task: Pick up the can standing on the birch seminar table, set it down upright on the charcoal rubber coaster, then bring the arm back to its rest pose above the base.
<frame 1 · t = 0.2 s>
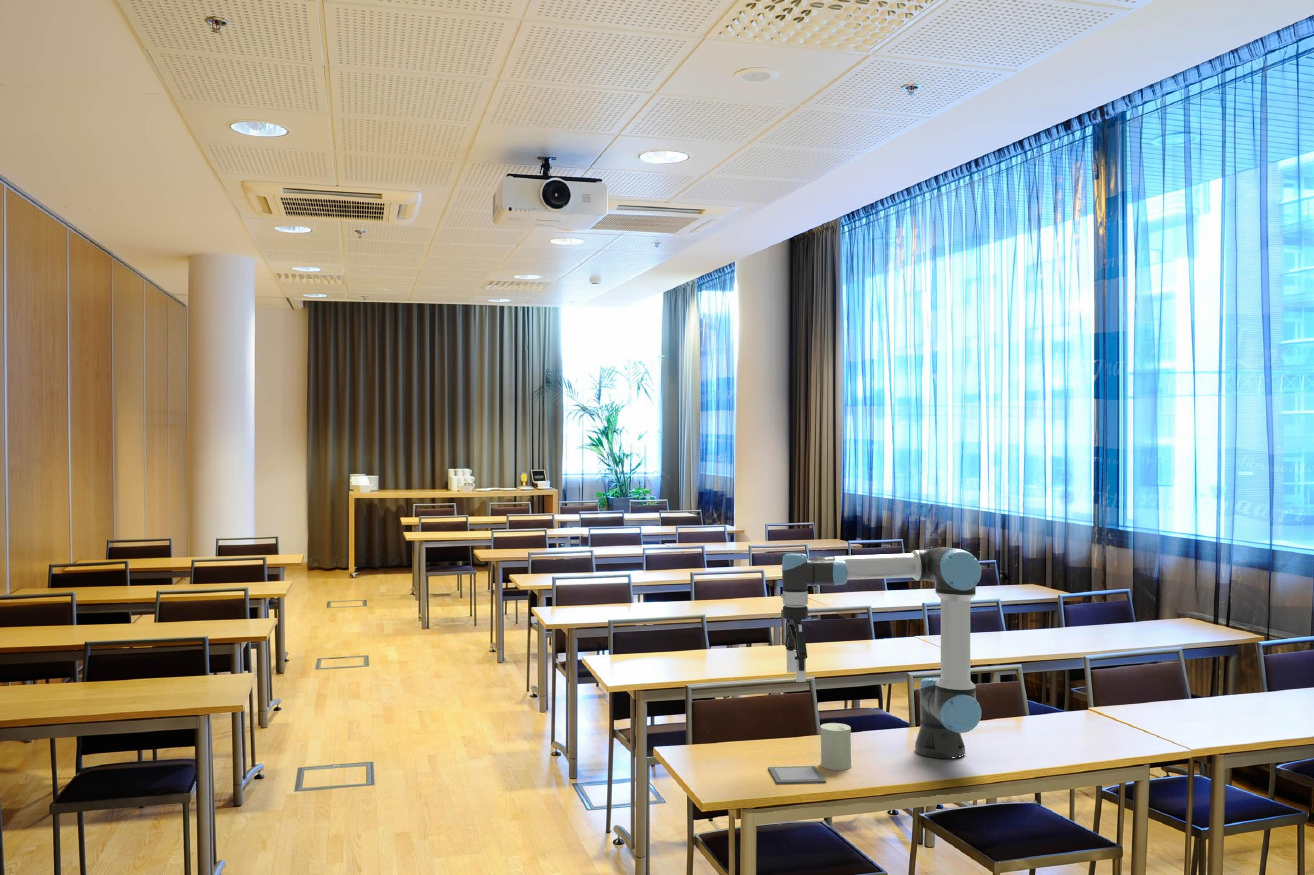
hand: (796, 676, 281), 27 cm above the table, fingers open, 13 cm apart
coaster: (796, 775, 273), on the table
can: (836, 766, 283), on the table
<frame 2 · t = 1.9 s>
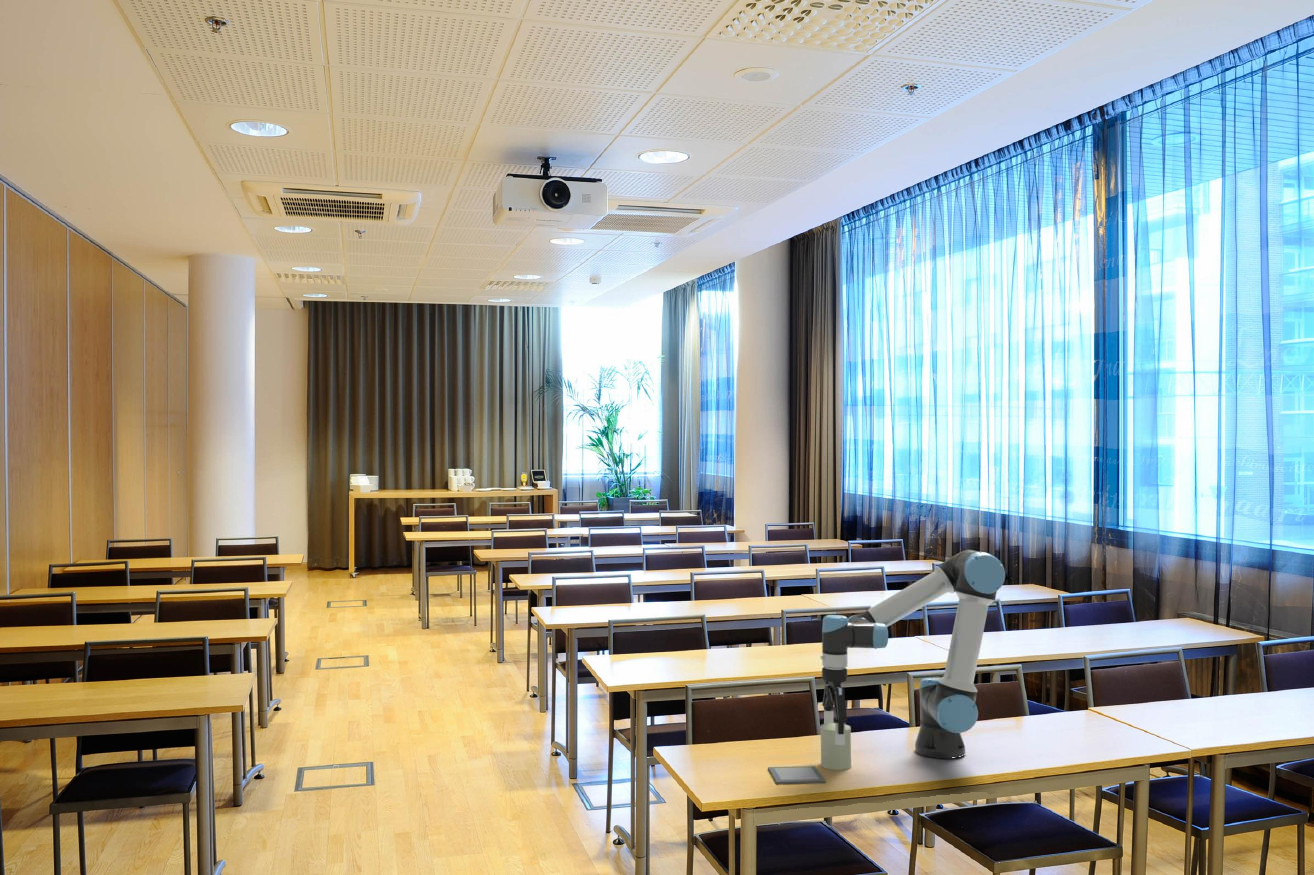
hand: (834, 738, 283), 8 cm above the table, fingers open, 13 cm apart
nothing on the table moved.
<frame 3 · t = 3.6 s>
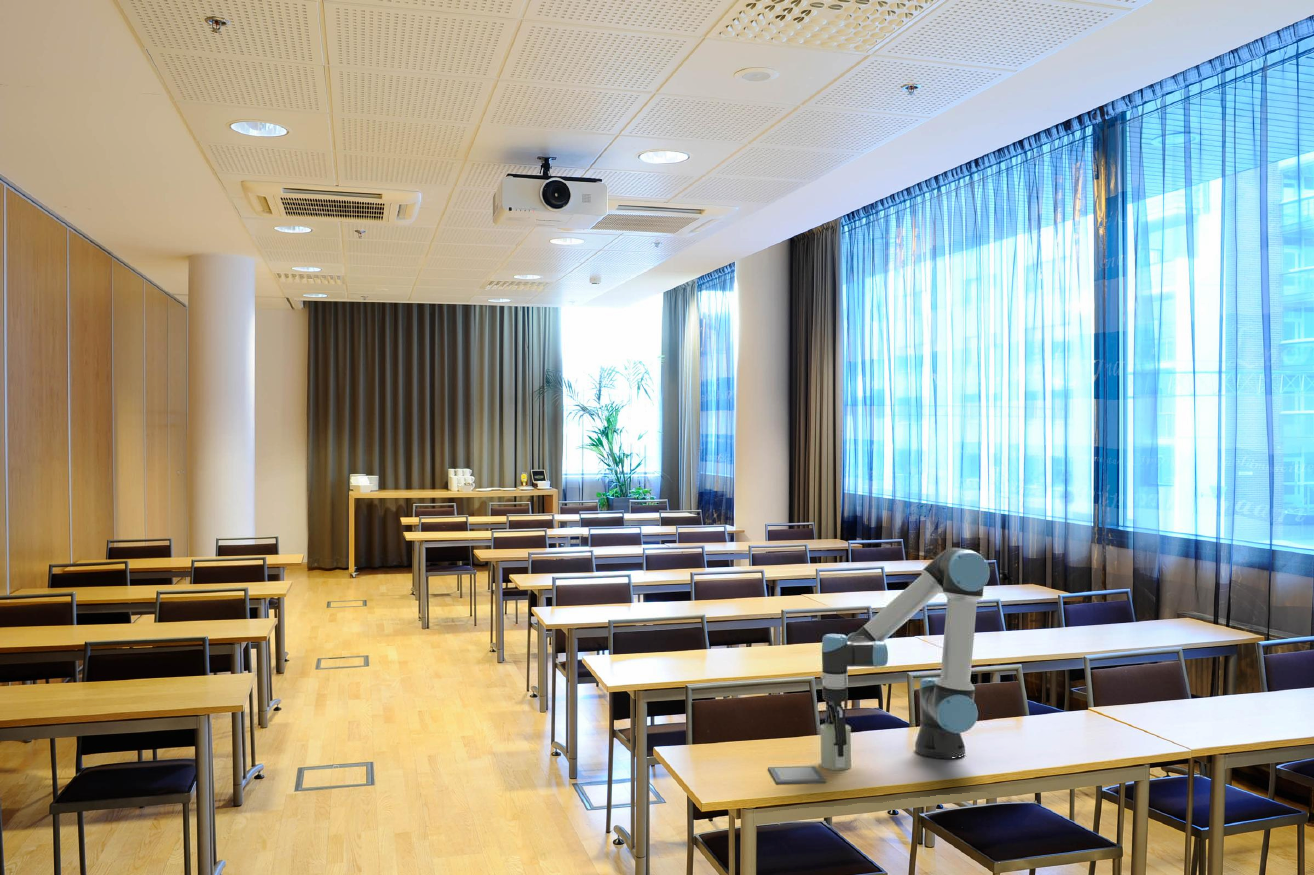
hand: (836, 762, 283), 1 cm above the table, fingers closed on can, 9 cm apart
can: (836, 766, 283), on the table, touching gripper
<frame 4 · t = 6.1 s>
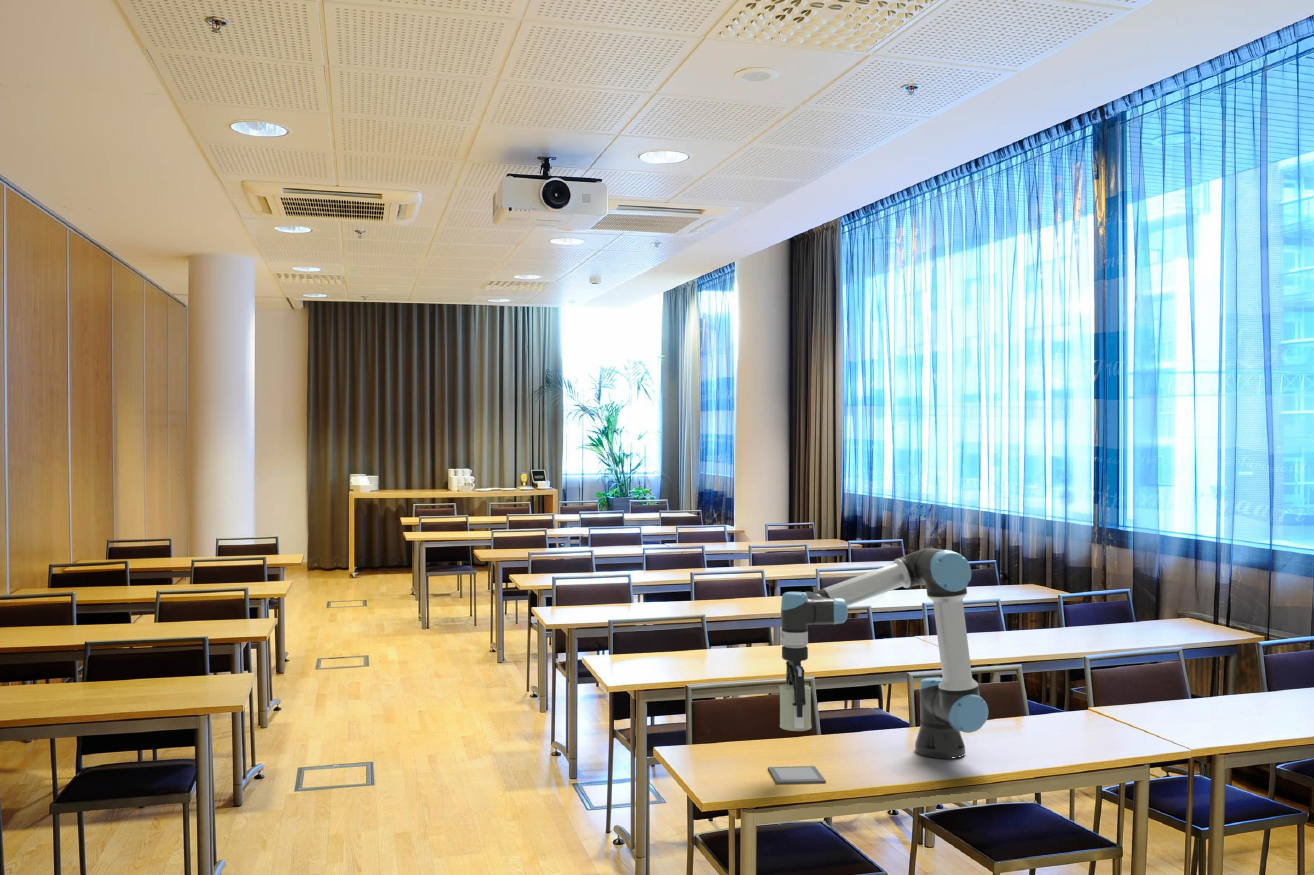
hand: (795, 723, 274), 15 cm above the table, fingers closed on can, 9 cm apart
can: (795, 727, 274), point 14 cm above the table, touching gripper
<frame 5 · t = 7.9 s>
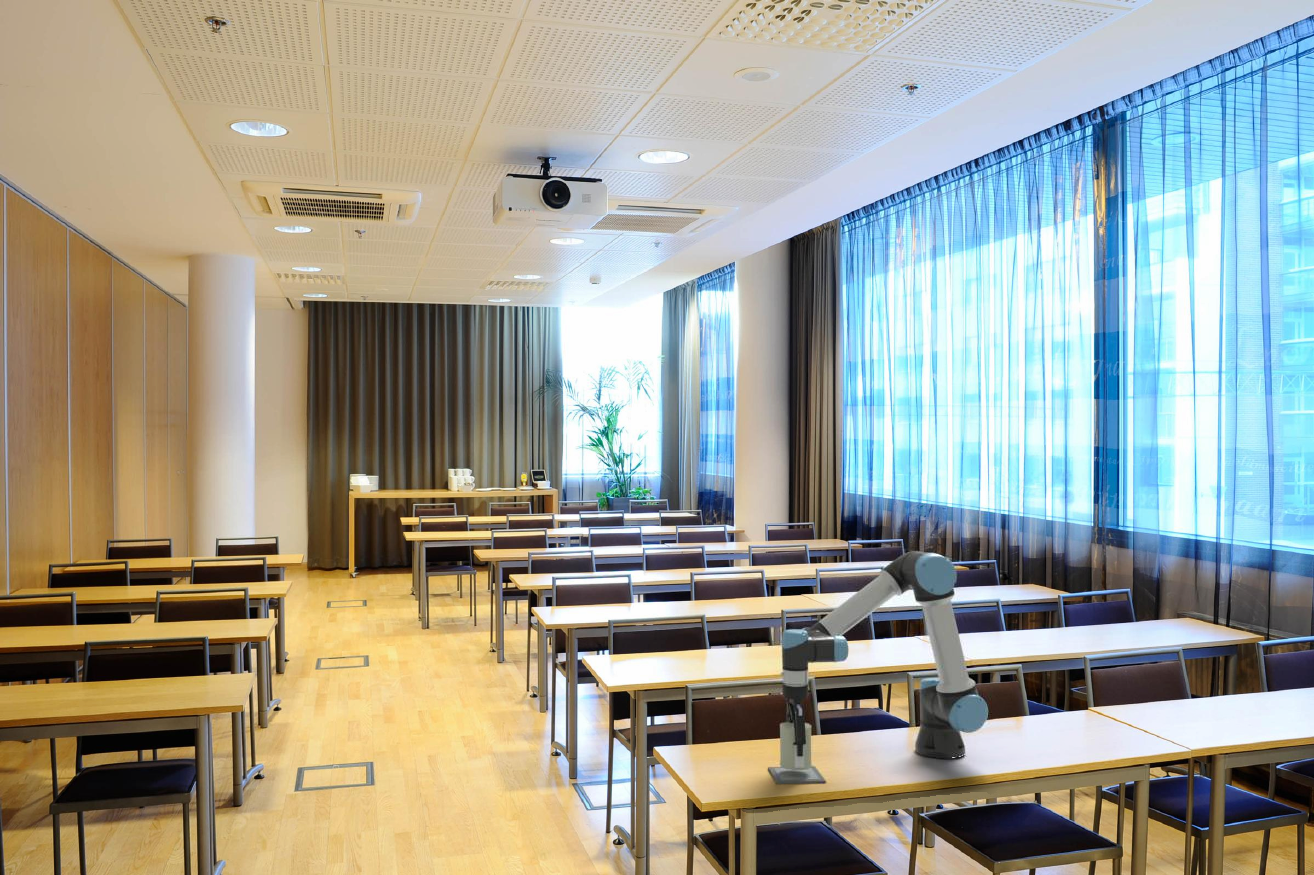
hand: (796, 762, 273), 4 cm above the table, fingers closed on can, 9 cm apart
can: (795, 766, 273), point 3 cm above the table, touching gripper
when the fingers open (3 cm above the table, at t = 9.1 s): can drops 1 cm, resting on coaster.
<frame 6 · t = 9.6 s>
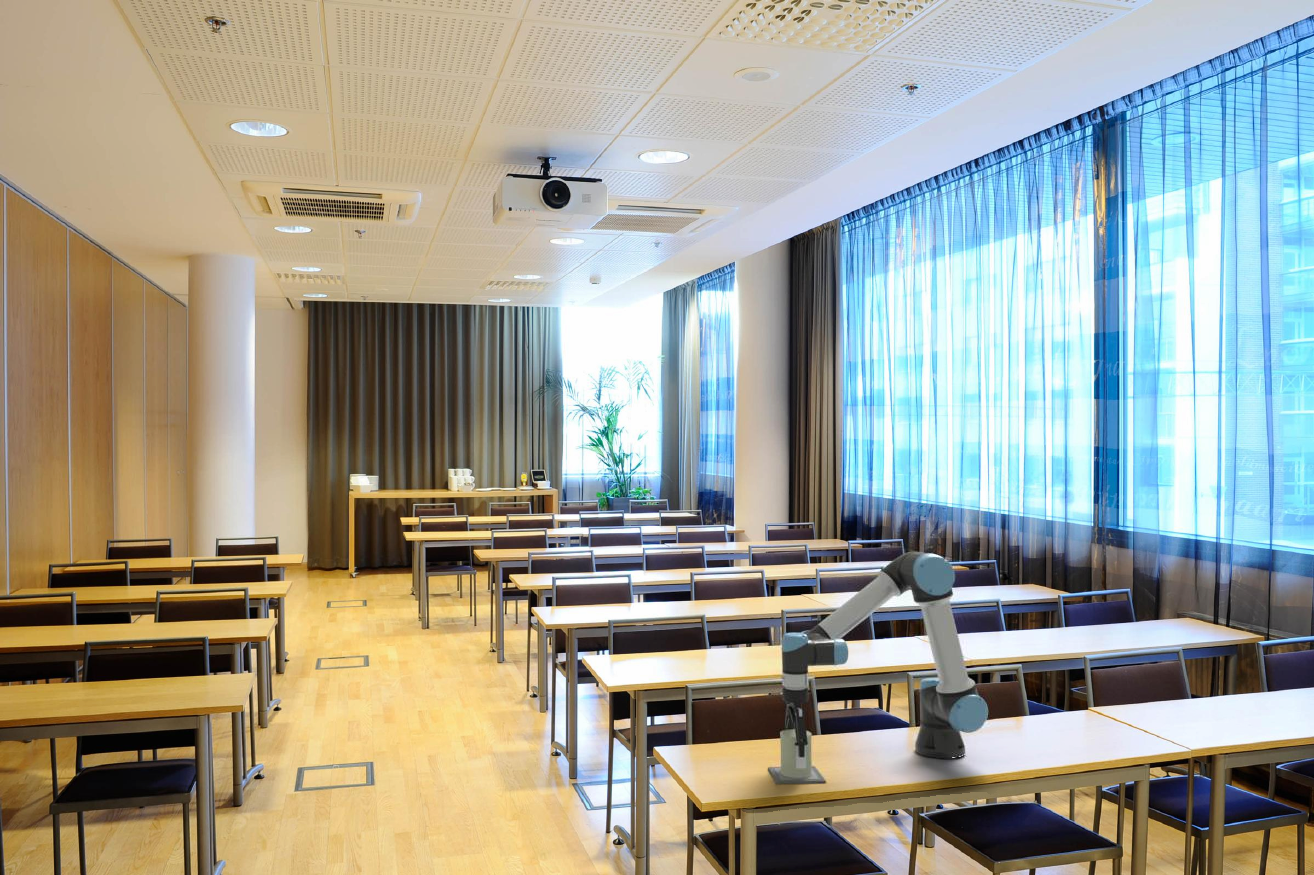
hand: (796, 761, 273), 4 cm above the table, fingers open, 13 cm apart
can: (796, 774, 273), resting on coaster
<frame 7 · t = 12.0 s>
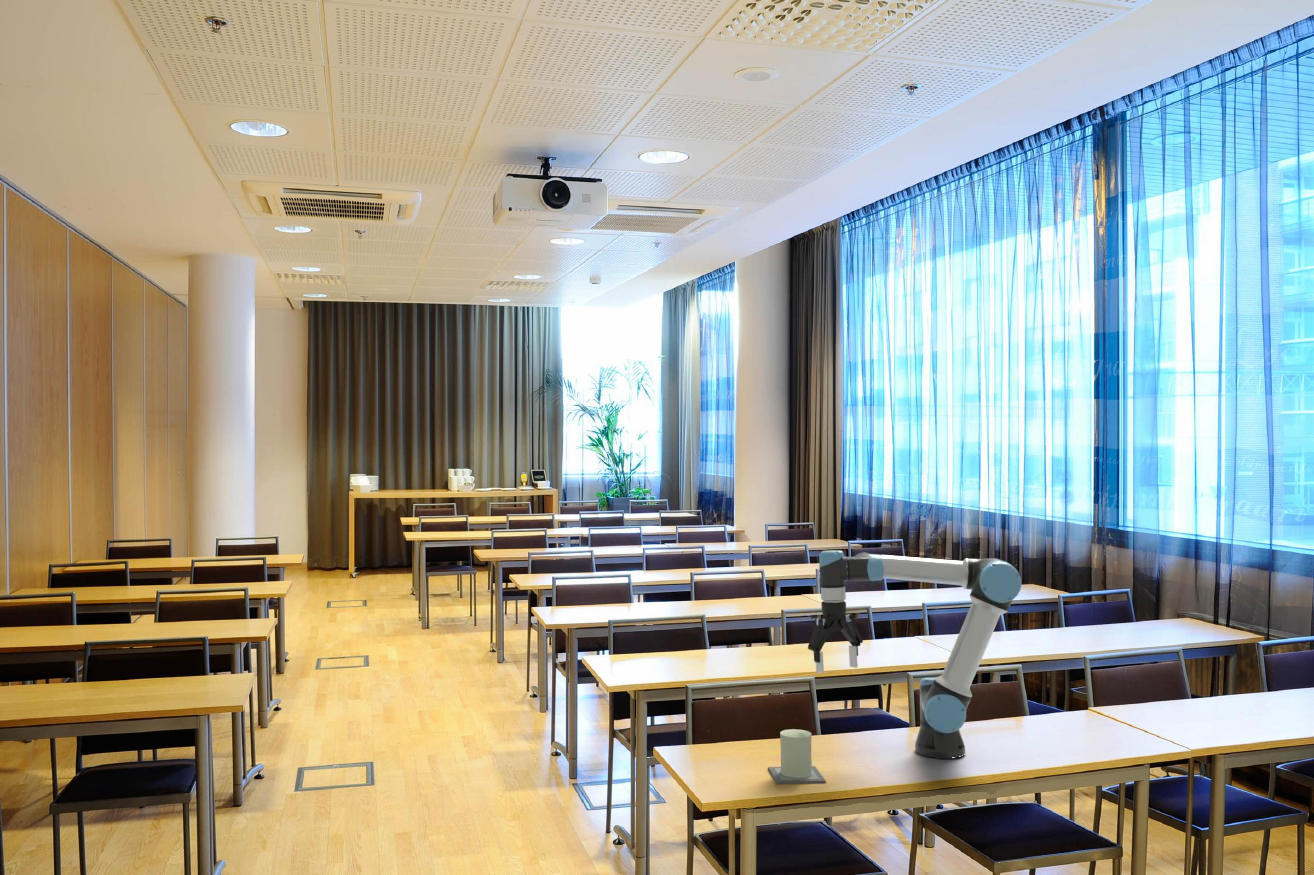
hand: (837, 670, 290), 27 cm above the table, fingers open, 13 cm apart
nothing on the table moved.
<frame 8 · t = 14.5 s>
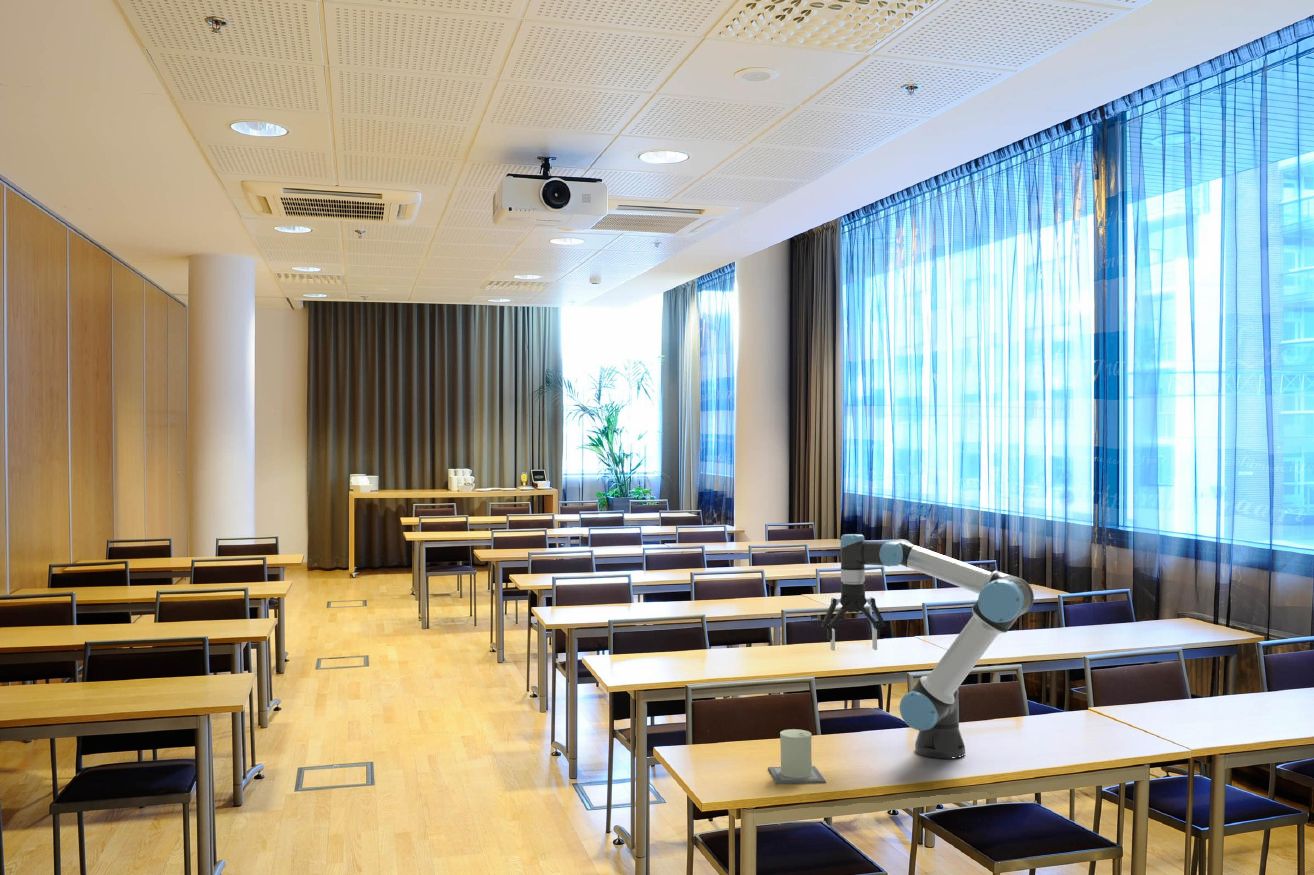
hand: (853, 649, 300), 32 cm above the table, fingers open, 13 cm apart
nothing on the table moved.
at the end: can inside the target area on the coaster (0.0 cm from its centre), point 0.5 cm above the coaster's base; can tilted 0°; the gripper is holding nothing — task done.
